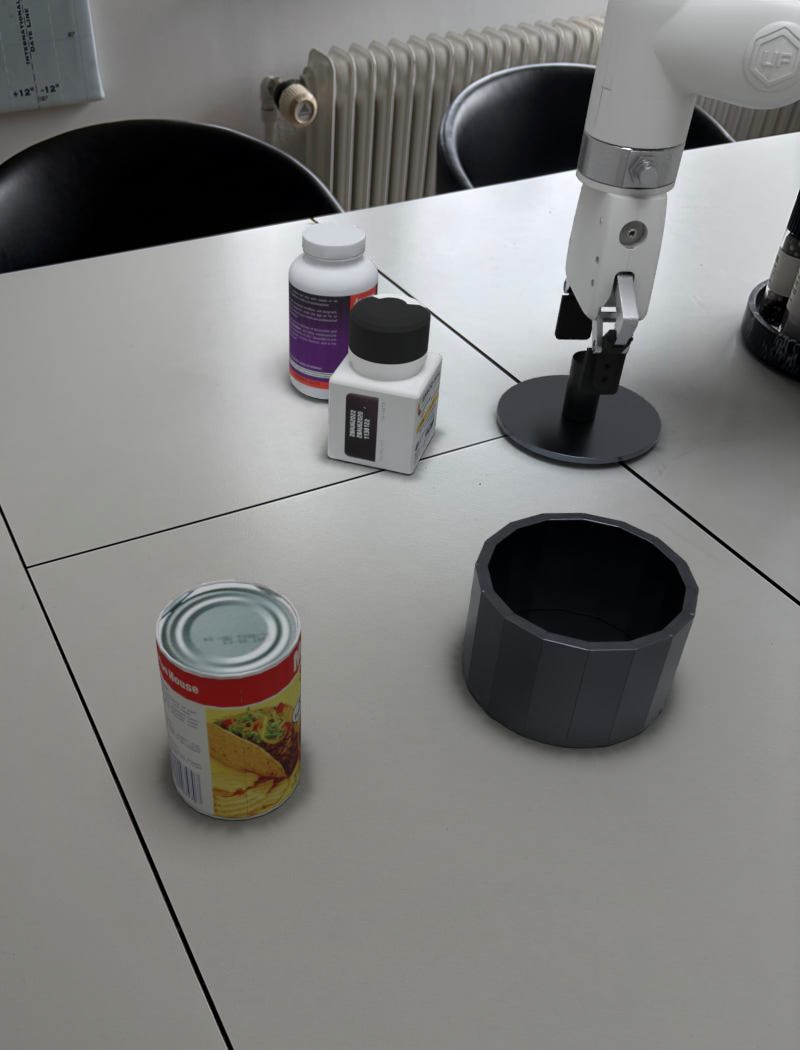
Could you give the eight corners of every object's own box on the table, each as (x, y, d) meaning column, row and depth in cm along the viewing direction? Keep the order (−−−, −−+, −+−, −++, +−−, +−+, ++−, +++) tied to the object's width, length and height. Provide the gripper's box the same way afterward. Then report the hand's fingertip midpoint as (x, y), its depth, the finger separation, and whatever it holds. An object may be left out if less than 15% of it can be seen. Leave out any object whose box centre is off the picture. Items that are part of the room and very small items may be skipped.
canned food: (327, 770, 64) (331, 625, 56) (231, 843, 60) (221, 698, 52) (241, 704, 68) (234, 560, 60) (146, 769, 64) (125, 624, 56)
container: (411, 476, 88) (424, 333, 79) (326, 458, 90) (328, 316, 81) (436, 431, 94) (450, 293, 85) (354, 415, 95) (360, 278, 87)
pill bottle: (358, 411, 96) (365, 257, 86) (277, 396, 98) (274, 244, 88) (383, 371, 102) (391, 223, 92) (305, 358, 103) (305, 211, 94)
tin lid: (634, 385, 100) (650, 319, 96) (678, 469, 90) (698, 399, 85) (484, 386, 100) (493, 320, 95) (510, 471, 89) (521, 401, 84)
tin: (635, 606, 76) (662, 511, 70) (690, 745, 66) (728, 648, 60) (450, 609, 76) (463, 513, 70) (478, 750, 66) (495, 652, 60)
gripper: (713, 202, 73) (653, 416, 85) (647, 124, 86) (602, 320, 97) (607, 200, 73) (562, 416, 84) (557, 122, 85) (523, 319, 97)
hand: (583, 364), depth 91 cm, fingers open, 9 cm apart
